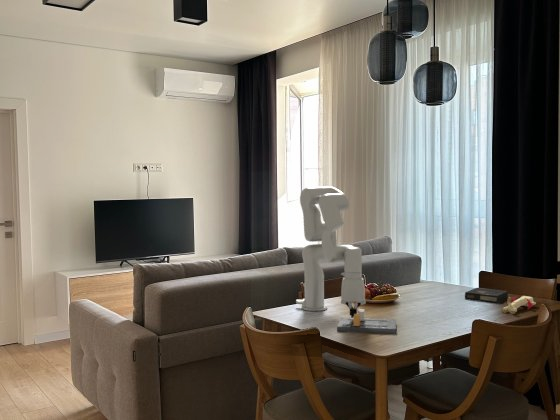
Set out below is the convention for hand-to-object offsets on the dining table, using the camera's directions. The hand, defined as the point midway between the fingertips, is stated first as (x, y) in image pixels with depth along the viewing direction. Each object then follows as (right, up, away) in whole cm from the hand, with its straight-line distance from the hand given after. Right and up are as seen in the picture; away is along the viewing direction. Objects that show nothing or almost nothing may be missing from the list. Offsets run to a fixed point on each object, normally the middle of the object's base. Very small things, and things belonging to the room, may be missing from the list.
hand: (353, 317), depth 244 cm
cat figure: (+83, -1, +25) cm, 87 cm away
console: (+5, -3, -5) cm, 8 cm away
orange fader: (0, -1, -9) cm, 9 cm away
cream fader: (+3, -1, -1) cm, 4 cm away
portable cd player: (+76, 0, +50) cm, 91 cm away
